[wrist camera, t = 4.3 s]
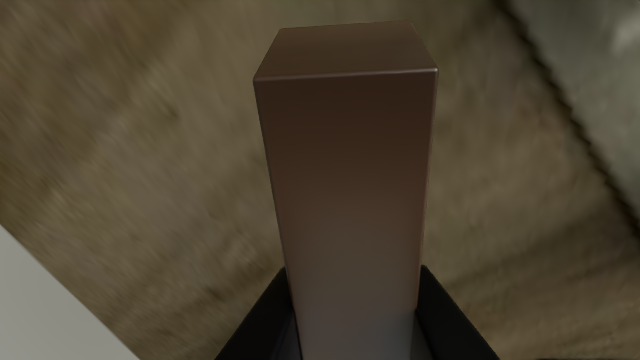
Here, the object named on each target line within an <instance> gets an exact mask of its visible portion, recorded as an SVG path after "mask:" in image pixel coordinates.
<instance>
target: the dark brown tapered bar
mask: <svg viewBox="0 0 640 360" xmlns="http://www.w3.org/2000/svg"><path fill="white" fill-rule="evenodd" d="M438 74H439V70H438V67H437V65H436V64H435V62H434V60H433V58H432V57H431V55H430V53H429V52H428V50H427V48H426V46H425V45H424V43H423V41H422V39H421V38H420V36H419V34H418V32H417V31H416V29H415V27H414V26H413V24H412V22H411V21H409V20H404V21H388V22H373V23H358V24H343V25H328V26H313V27H298V28H283V29H280V30H279V32H278V34H277V35H276V37H275V39H274V41H273V43H272V45H271V46H270V48H269V50H268V52H267V54H266V56H265V57H264V59H263V61H262V63H261V65H260V67H259V68H258V70H257V72H256V74H255V76H254V78H253V86H254V91H255V97H256V103H257V108H258V114H259V120H260V125H261V131H262V137H263V143H264V148H265V154H266V160H267V165H268V171H269V177H270V182H271V188H272V194H273V199H274V205H275V211H276V216H277V222H278V228H279V233H280V239H281V245H282V250H283V256H284V262H285V268H286V273H287V279H288V285H289V290H290V296H291V302H292V307H293V310H294V316H295V322H296V327H297V333H298V339H299V345H300V350H301V356H302V360H410V355H411V344H412V333H413V322H414V311H415V309H416V307H417V301H418V290H419V279H420V268H421V257H422V247H423V236H424V225H425V214H426V203H427V193H428V182H429V171H430V160H431V149H432V139H433V128H434V117H435V106H436V95H437V85H438Z"/></svg>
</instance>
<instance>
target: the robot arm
mask: <svg viewBox="0 0 640 360" xmlns="http://www.w3.org/2000/svg"><path fill="white" fill-rule="evenodd" d="M214 360H302V356H301V350H300V345H299V339H298V333H297V327H296V322H295V316H294V310H293V307H292V302H291V296H290V290H289V285H288V279H287V273H286V268H285V266H284V267H282V268H281V269H280V270H279V272H278V273H277V275H276V276H275V277H274V279H273V280H272V281H271V283H270V284H269V286H268V287H267V288H266V290H265V291H264V292H263V294H262V295H261V296H260V298H259V299H258V301H257V302H256V303H255V305H254V306H253V307H252V309H251V310H250V312H249V313H248V314H247V316H246V317H245V318H244V320H243V321H242V323H241V324H240V325H239V327H238V328H237V329H236V331H235V332H234V333H233V335H232V336H231V338H230V339H229V340H228V342H227V343H226V344H225V346H224V347H223V349H222V350H221V351H220V353H219V354H218V355H217V357H216V358H215V359H214ZM410 360H500V358H499V357H498V356H497V355H496V353H495V352H494V351H493V350H492V348H491V347H490V346H489V345H488V343H487V342H486V341H485V340H484V338H483V337H482V336H481V335H480V333H479V332H478V331H477V330H476V328H475V327H474V326H473V324H472V323H471V322H470V321H469V319H468V318H467V317H466V316H465V314H464V313H463V312H462V311H461V309H460V308H459V307H458V306H457V304H456V303H455V302H454V301H453V299H452V298H451V297H450V296H449V294H448V293H447V292H446V291H445V289H444V288H443V287H442V286H441V284H440V283H439V282H438V280H437V279H436V278H435V277H434V275H433V274H432V273H431V272H430V270H429V269H428V268H427V267H426V266H425V265H421V268H420V279H419V290H418V301H417V307H416V309H415V311H414V322H413V333H412V344H411V355H410Z"/></svg>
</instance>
